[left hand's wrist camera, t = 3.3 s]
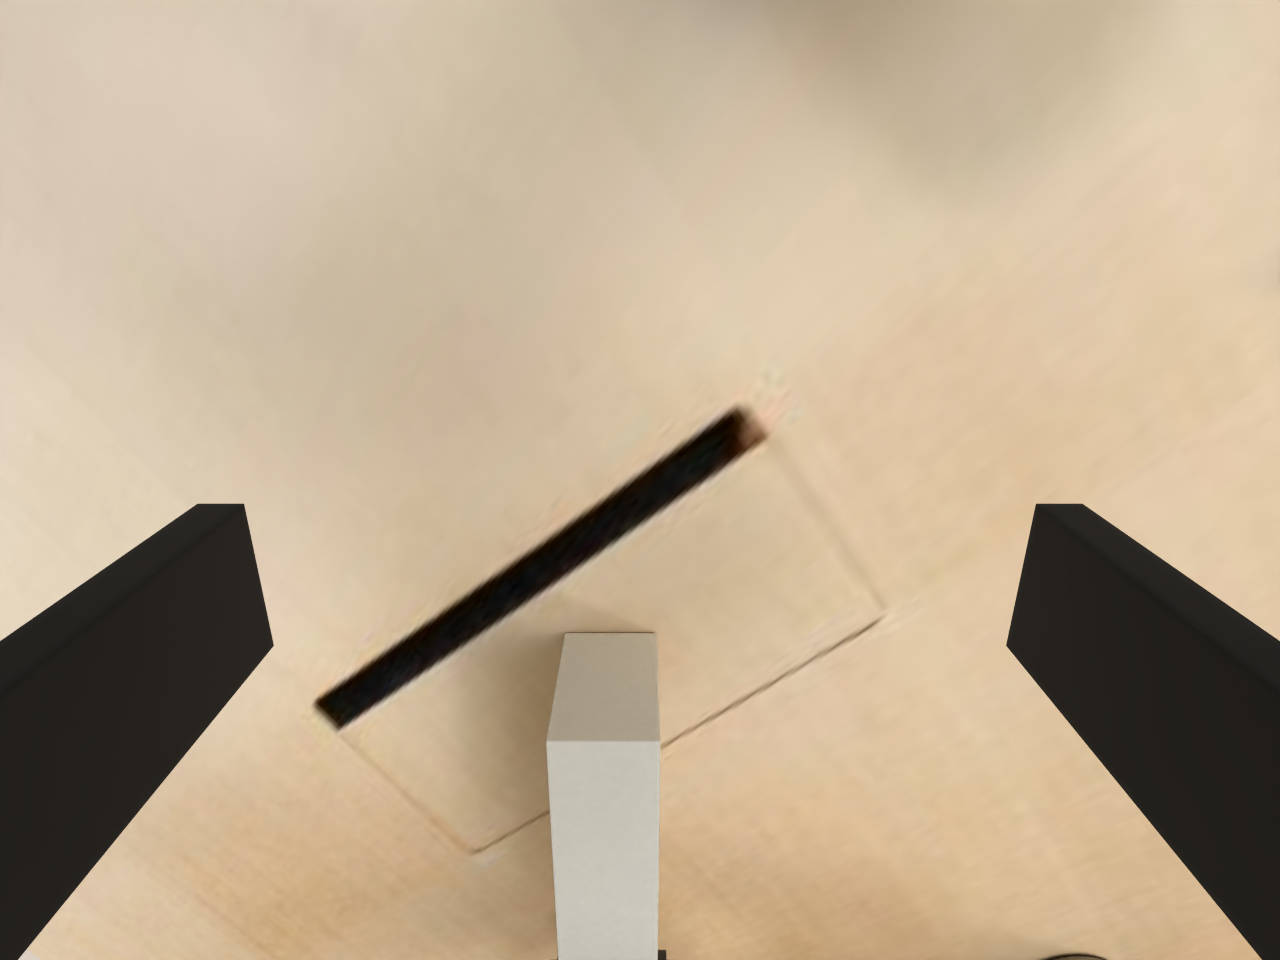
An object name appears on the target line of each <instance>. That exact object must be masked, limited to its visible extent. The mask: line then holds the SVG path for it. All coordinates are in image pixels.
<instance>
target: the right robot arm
mask: <svg viewBox="0 0 1280 960" xmlns="http://www.w3.org/2000/svg"><path fill="white" fill-rule="evenodd" d="M557 960H558V959H557ZM658 960H666V950H658ZM1054 960H1102V959H1098V958H1093V957H1083V956H1074V957H1065V958H1059V959H1054Z"/></svg>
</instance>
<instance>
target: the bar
mask: <svg viewBox="0 0 1280 960" xmlns="http://www.w3.org/2000/svg"><path fill="white" fill-rule="evenodd" d="M546 752H547V770H548V788H549V805H550V823H551V841H552V858H553V876H554V894H555V911H556V929H557V946H558V960H658V892H659V813H660V715H659V685H658V655H657V634H656V633H565V636H564V642H563V648H562V653H561V659H560V665H559V670H558V676H557V682H556V687H555V693H554V699H553V704H552V710H551V716H550V721H549V727H548V733H547V738H546Z"/></svg>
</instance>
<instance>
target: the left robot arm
mask: <svg viewBox="0 0 1280 960" xmlns="http://www.w3.org/2000/svg"><path fill="white" fill-rule="evenodd" d="M273 646H274V645H273V640H272V635H271V630H270V626H269V621H268V616H267V611H266V607H265V602H264V597H263V592H262V587H261V583H260V578H259V573H258V568H257V564H256V559H255V554H254V549H253V545H252V540H251V535H250V530H249V526H248V521H247V516H246V511H245V507H244V504H197V505H195V506H194V507H192V508H191V509H190V510H188V511H187V512H185V513H184V514H182V515H181V516H179V517H178V518H177V519H175V520H174V521H172V522H171V523H169V524H168V525H167V526H165V527H164V528H162V529H161V530H159V531H158V532H156V533H155V534H154V535H152V536H151V537H149V538H148V539H146V540H145V541H144V542H142V543H141V544H139V545H138V546H136V547H135V548H133V549H132V550H131V551H129V552H128V553H126V554H125V555H123V556H122V557H121V558H119V559H118V560H116V561H115V562H113V563H112V564H111V565H109V566H108V567H106V568H105V569H103V570H102V571H100V572H99V573H98V574H96V575H95V576H93V577H92V578H90V579H89V580H88V581H86V582H85V583H83V584H82V585H80V586H79V587H77V588H76V589H75V590H73V591H72V592H70V593H69V594H67V595H66V596H65V597H63V598H62V599H60V600H59V601H57V602H56V603H54V604H53V605H52V606H50V607H49V608H47V609H46V610H44V611H43V612H42V613H40V614H39V615H37V616H36V617H34V618H33V619H31V620H30V621H29V622H27V623H26V624H24V625H23V626H21V627H20V628H19V629H17V630H16V631H14V632H13V633H11V634H10V635H8V636H7V637H6V638H4V639H3V640H1V641H0V960H18V959H19V958H20V956H21V955H22V954H23V953H24V951H25V950H26V949H27V948H28V947H29V945H30V944H31V943H32V942H33V940H34V939H35V938H36V937H37V936H38V934H39V933H40V932H41V931H42V929H43V928H44V927H45V926H46V924H47V923H48V922H49V921H50V920H51V918H52V917H53V916H54V915H55V913H56V912H57V911H58V910H59V909H60V907H61V906H62V905H63V904H64V902H65V901H66V900H67V899H68V897H69V896H70V895H71V894H72V893H73V891H74V890H75V889H76V888H77V886H78V885H79V884H80V883H81V882H82V880H83V879H84V878H85V877H86V875H87V874H88V873H89V872H90V870H91V869H92V868H93V867H94V866H95V864H96V863H97V862H98V861H99V859H100V858H101V857H102V856H103V855H104V853H105V852H106V851H107V850H108V848H109V847H110V846H111V845H112V843H113V842H114V841H115V840H116V839H117V837H118V836H119V835H120V834H121V832H122V831H123V830H124V829H125V828H126V826H127V825H128V824H129V823H130V821H131V820H132V819H133V818H134V816H135V815H136V814H137V813H138V812H139V810H140V809H141V808H142V807H143V805H144V804H145V803H146V802H147V801H148V799H149V798H150V797H151V796H152V794H153V793H154V792H155V791H156V789H157V788H158V787H159V786H160V785H161V783H162V782H163V781H164V780H165V778H166V777H167V776H168V775H169V774H170V772H171V771H172V770H173V769H174V767H175V766H176V765H177V764H178V762H179V761H180V760H181V759H182V758H183V756H184V755H185V754H186V753H187V751H188V750H189V749H190V748H191V747H192V745H193V744H194V743H195V742H196V740H197V739H198V738H199V737H200V735H201V734H202V733H203V732H204V731H205V729H206V728H207V727H208V726H209V724H210V723H211V722H212V721H213V720H214V718H215V717H216V716H217V715H218V713H219V712H220V711H221V710H222V708H223V707H224V706H225V705H226V704H227V702H228V701H229V700H230V699H231V697H232V696H233V695H234V694H235V693H236V691H237V690H238V689H239V688H240V686H241V685H242V684H243V683H244V681H245V680H246V679H247V678H248V677H249V675H250V674H251V673H252V672H253V670H254V669H255V668H256V667H257V666H258V664H259V663H260V662H261V661H262V659H263V658H264V657H265V656H266V654H267V653H268V652H269V651H270V650H271V648H272V647H273ZM1006 646H1007V647H1008V648H1009V650H1010V651H1011V652H1012V653H1013V654H1014V656H1015V657H1016V658H1017V659H1018V661H1019V662H1020V663H1021V664H1022V666H1023V667H1024V668H1025V669H1026V670H1027V672H1028V673H1029V674H1030V675H1031V677H1032V678H1033V679H1034V680H1035V681H1036V683H1037V684H1038V685H1039V686H1040V688H1041V689H1042V690H1043V691H1044V693H1045V694H1046V695H1047V696H1048V697H1049V699H1050V700H1051V701H1052V702H1053V704H1054V705H1055V706H1056V707H1057V708H1058V710H1059V711H1060V712H1061V713H1062V715H1063V716H1064V717H1065V718H1066V720H1067V721H1068V722H1069V723H1070V724H1071V726H1072V727H1073V728H1074V729H1075V731H1076V732H1077V733H1078V734H1079V735H1080V737H1081V738H1082V739H1083V740H1084V742H1085V743H1086V744H1087V745H1088V747H1089V748H1090V749H1091V750H1092V751H1093V753H1094V754H1095V755H1096V756H1097V758H1098V759H1099V760H1100V761H1101V762H1102V764H1103V765H1104V766H1105V767H1106V769H1107V770H1108V771H1109V772H1110V774H1111V775H1112V776H1113V777H1114V778H1115V780H1116V781H1117V782H1118V783H1119V785H1120V786H1121V787H1122V788H1123V789H1124V791H1125V792H1126V793H1127V794H1128V796H1129V797H1130V798H1131V799H1132V801H1133V802H1134V803H1135V804H1136V805H1137V807H1138V808H1139V809H1140V810H1141V812H1142V813H1143V814H1144V815H1145V816H1146V818H1147V819H1148V820H1149V821H1150V823H1151V824H1152V825H1153V826H1154V828H1155V829H1156V830H1157V831H1158V832H1159V834H1160V835H1161V836H1162V837H1163V839H1164V840H1165V841H1166V842H1167V843H1168V845H1169V846H1170V847H1171V848H1172V850H1173V851H1174V852H1175V853H1176V855H1177V856H1178V857H1179V858H1180V859H1181V861H1182V862H1183V863H1184V864H1185V866H1186V867H1187V868H1188V869H1189V870H1190V872H1191V873H1192V874H1193V875H1194V877H1195V878H1196V879H1197V880H1198V882H1199V883H1200V884H1201V885H1202V886H1203V888H1204V889H1205V890H1206V891H1207V893H1208V894H1209V895H1210V896H1211V897H1212V899H1213V900H1214V901H1215V902H1216V904H1217V905H1218V906H1219V907H1220V909H1221V910H1222V911H1223V912H1224V913H1225V915H1226V916H1227V917H1228V918H1229V920H1230V921H1231V922H1232V923H1233V925H1234V926H1235V927H1236V928H1237V929H1238V931H1239V932H1240V933H1241V934H1242V936H1243V937H1244V938H1245V939H1246V940H1247V942H1248V943H1249V944H1250V945H1251V947H1252V948H1253V949H1254V950H1255V952H1256V953H1257V954H1258V955H1259V956H1260V958H1261V959H1262V960H1280V641H1279V640H1277V639H1276V638H1274V637H1273V636H1272V635H1270V634H1269V633H1267V632H1266V631H1264V630H1263V629H1261V628H1260V627H1259V626H1257V625H1256V624H1254V623H1253V622H1251V621H1250V620H1249V619H1247V618H1246V617H1244V616H1243V615H1241V614H1240V613H1238V612H1237V611H1236V610H1234V609H1233V608H1231V607H1230V606H1228V605H1227V604H1226V603H1224V602H1223V601H1221V600H1220V599H1218V598H1217V597H1215V596H1214V595H1213V594H1211V593H1210V592H1208V591H1207V590H1205V589H1204V588H1203V587H1201V586H1200V585H1198V584H1197V583H1195V582H1194V581H1192V580H1191V579H1190V578H1188V577H1187V576H1185V575H1184V574H1182V573H1181V572H1180V571H1178V570H1177V569H1175V568H1174V567H1172V566H1171V565H1169V564H1168V563H1167V562H1165V561H1164V560H1162V559H1161V558H1159V557H1158V556H1157V555H1155V554H1154V553H1152V552H1151V551H1149V550H1148V549H1147V548H1145V547H1144V546H1142V545H1141V544H1139V543H1138V542H1136V541H1135V540H1134V539H1132V538H1131V537H1129V536H1128V535H1126V534H1125V533H1124V532H1122V531H1121V530H1119V529H1118V528H1116V527H1115V526H1113V525H1112V524H1111V523H1109V522H1108V521H1106V520H1105V519H1103V518H1102V517H1101V516H1099V515H1098V514H1096V513H1095V512H1093V511H1092V510H1090V509H1089V508H1088V507H1086V506H1085V505H1083V504H1036V507H1035V511H1034V516H1033V521H1032V526H1031V530H1030V535H1029V540H1028V545H1027V549H1026V554H1025V559H1024V564H1023V568H1022V573H1021V578H1020V583H1019V587H1018V592H1017V597H1016V602H1015V607H1014V611H1013V616H1012V621H1011V626H1010V630H1009V635H1008V640H1007V645H1006Z"/></svg>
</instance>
